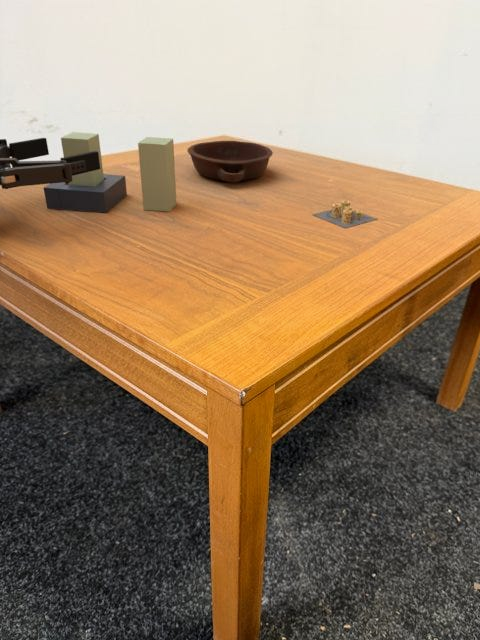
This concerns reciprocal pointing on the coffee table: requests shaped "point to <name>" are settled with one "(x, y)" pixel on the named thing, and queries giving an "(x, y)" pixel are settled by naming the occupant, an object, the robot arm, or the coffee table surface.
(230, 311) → the coffee table surface
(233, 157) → the dish
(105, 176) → the socket block
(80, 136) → the tall olive green block
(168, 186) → the standing block
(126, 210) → the coffee table surface
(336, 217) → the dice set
